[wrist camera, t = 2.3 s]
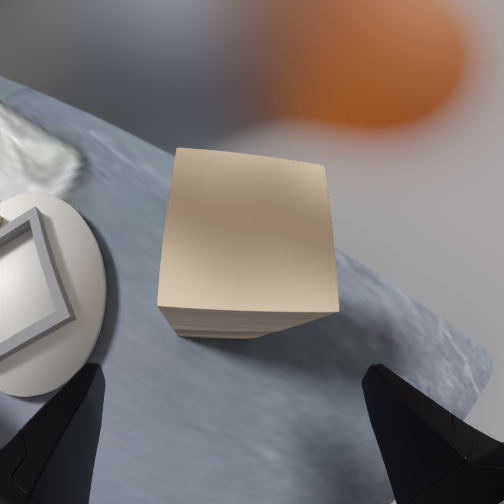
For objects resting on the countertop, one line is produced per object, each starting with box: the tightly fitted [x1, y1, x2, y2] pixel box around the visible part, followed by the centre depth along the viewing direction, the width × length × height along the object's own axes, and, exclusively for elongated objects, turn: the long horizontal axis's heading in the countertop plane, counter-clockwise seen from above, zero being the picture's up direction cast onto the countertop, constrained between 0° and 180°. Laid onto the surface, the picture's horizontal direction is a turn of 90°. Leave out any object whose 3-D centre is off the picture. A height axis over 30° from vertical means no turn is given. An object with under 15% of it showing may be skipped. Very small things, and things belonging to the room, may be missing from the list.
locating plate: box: [0, 193, 107, 397], centre depth 16 cm, size 16×16×4 cm
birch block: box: [157, 148, 339, 339], centre depth 15 cm, size 5×5×13 cm
